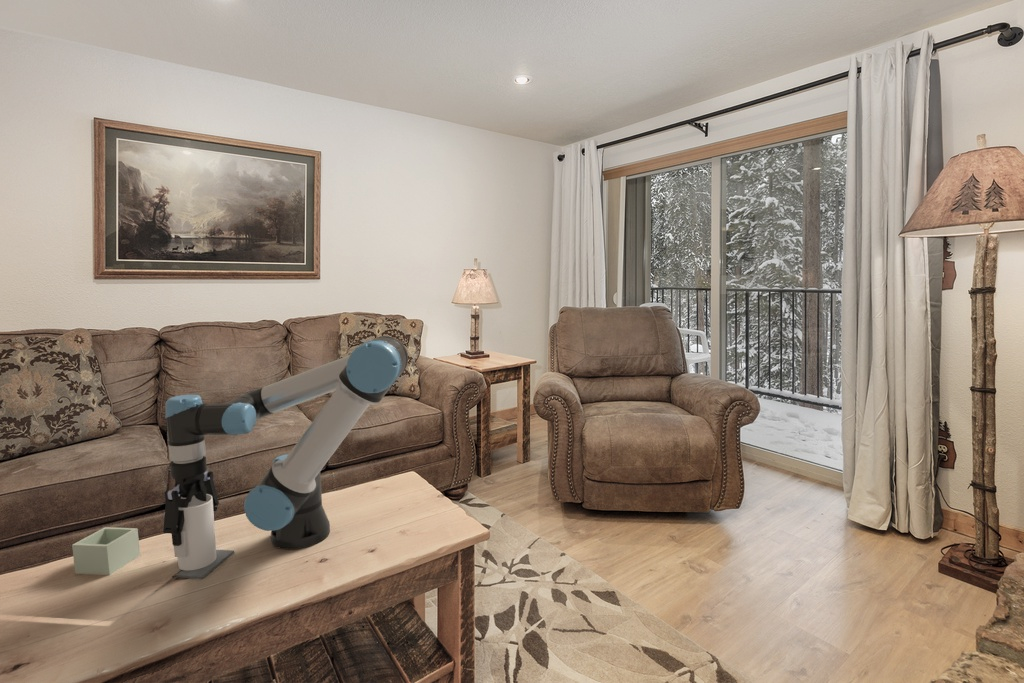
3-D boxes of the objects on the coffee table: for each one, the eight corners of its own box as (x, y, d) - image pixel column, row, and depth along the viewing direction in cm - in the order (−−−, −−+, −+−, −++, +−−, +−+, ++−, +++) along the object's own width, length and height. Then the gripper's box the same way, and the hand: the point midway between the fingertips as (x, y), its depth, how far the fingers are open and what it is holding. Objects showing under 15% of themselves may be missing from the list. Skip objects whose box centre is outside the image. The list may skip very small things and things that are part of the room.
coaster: (234, 552, 135) (234, 550, 135) (202, 578, 123) (202, 576, 123) (191, 550, 136) (191, 548, 136) (155, 576, 124) (155, 574, 124)
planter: (140, 558, 132) (137, 528, 131) (110, 578, 123) (106, 546, 123) (108, 556, 133) (105, 527, 132) (75, 576, 124) (72, 544, 123)
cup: (198, 572, 124) (193, 509, 122) (169, 568, 126) (164, 506, 124) (224, 554, 132) (220, 495, 130) (196, 550, 134) (192, 492, 132)
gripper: (203, 444, 137) (210, 525, 140) (137, 474, 116) (146, 569, 118) (230, 445, 137) (236, 526, 139) (169, 475, 115) (177, 570, 118)
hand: (195, 546), depth 129 cm, fingers open, 9 cm apart
